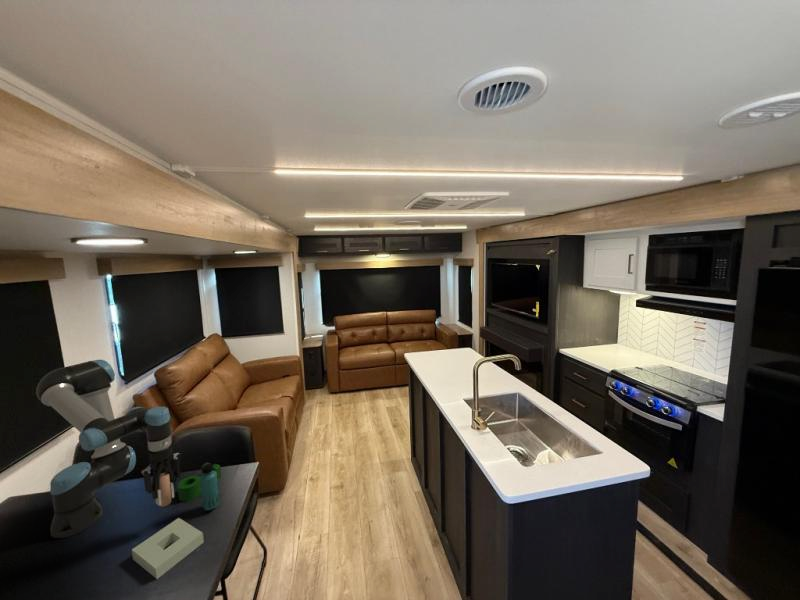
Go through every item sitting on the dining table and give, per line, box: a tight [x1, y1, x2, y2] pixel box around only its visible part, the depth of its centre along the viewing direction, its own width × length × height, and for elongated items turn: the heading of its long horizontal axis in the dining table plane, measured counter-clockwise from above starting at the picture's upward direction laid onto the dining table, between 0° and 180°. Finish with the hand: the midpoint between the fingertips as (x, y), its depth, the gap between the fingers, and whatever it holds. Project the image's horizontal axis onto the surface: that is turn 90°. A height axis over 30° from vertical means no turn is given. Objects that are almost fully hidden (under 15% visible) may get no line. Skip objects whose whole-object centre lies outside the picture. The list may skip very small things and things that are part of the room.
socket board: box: [131, 517, 204, 580], centre depth 119 cm, size 16×16×4 cm
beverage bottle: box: [200, 463, 220, 511], centre depth 138 cm, size 6×7×20 cm
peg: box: [158, 472, 172, 508], centre depth 128 cm, size 4×4×12 cm
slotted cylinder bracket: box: [177, 462, 222, 502], centre depth 152 cm, size 18×9×6 cm, turn 167°
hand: (165, 500), depth 129 cm, fingers closed on peg, 4 cm apart
